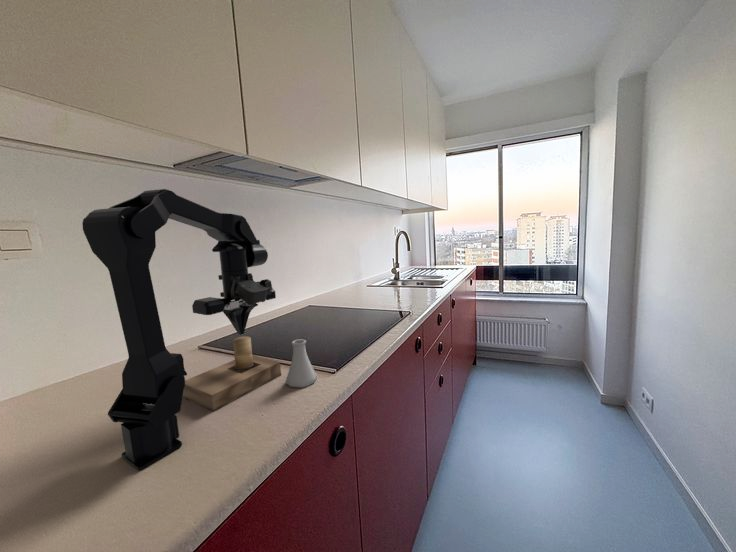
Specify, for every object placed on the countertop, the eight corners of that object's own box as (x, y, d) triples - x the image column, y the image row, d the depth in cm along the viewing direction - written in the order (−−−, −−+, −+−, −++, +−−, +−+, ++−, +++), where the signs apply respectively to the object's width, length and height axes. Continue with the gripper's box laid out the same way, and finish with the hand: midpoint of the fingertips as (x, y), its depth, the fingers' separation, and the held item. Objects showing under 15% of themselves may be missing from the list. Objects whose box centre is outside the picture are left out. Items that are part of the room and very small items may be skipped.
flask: (279, 385, 72) (276, 344, 70) (299, 372, 78) (297, 334, 77) (303, 391, 68) (300, 348, 67) (322, 377, 75) (320, 338, 73)
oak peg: (232, 380, 74) (228, 340, 73) (247, 373, 78) (243, 335, 76) (243, 383, 72) (240, 343, 71) (258, 376, 76) (254, 337, 74)
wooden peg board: (213, 411, 62) (212, 395, 61) (182, 397, 68) (180, 382, 67) (281, 375, 77) (280, 361, 76) (250, 366, 83) (249, 353, 83)
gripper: (218, 277, 59) (226, 353, 61) (288, 266, 75) (293, 327, 77) (187, 275, 65) (195, 344, 67) (258, 265, 81) (263, 322, 83)
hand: (241, 334), depth 73 cm, fingers closed
